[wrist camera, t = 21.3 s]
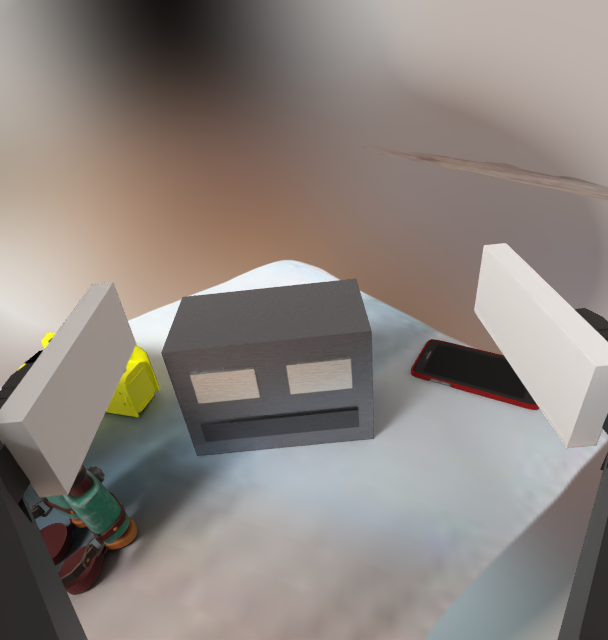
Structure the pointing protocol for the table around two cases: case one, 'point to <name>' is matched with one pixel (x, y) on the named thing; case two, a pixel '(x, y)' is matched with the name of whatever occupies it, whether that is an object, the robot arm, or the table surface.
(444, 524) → the table surface
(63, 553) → the binoculars
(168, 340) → the box
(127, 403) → the yellow toy chassis
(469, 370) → the cell phone
